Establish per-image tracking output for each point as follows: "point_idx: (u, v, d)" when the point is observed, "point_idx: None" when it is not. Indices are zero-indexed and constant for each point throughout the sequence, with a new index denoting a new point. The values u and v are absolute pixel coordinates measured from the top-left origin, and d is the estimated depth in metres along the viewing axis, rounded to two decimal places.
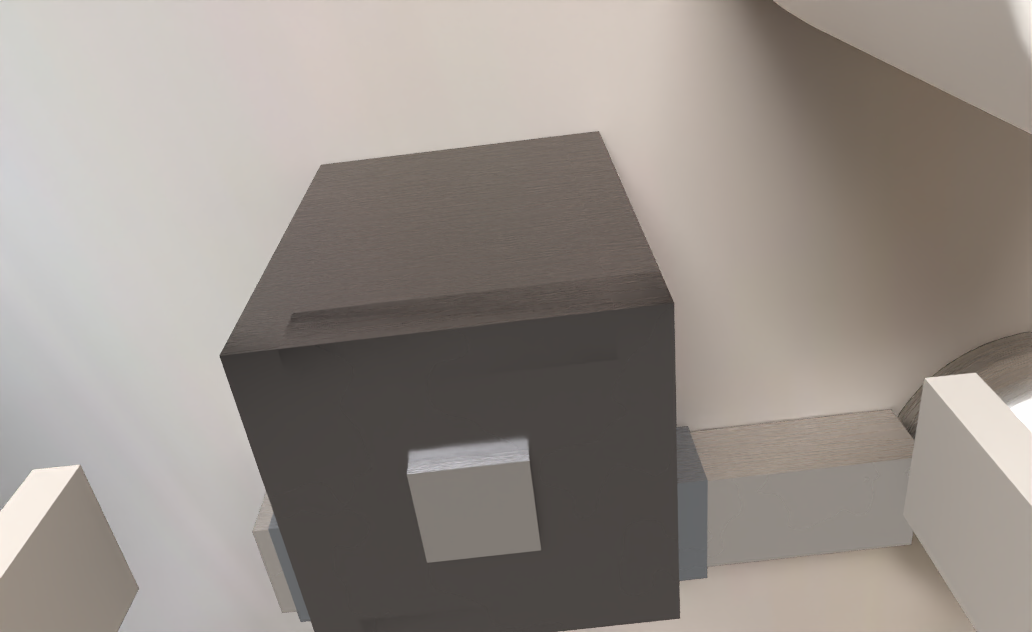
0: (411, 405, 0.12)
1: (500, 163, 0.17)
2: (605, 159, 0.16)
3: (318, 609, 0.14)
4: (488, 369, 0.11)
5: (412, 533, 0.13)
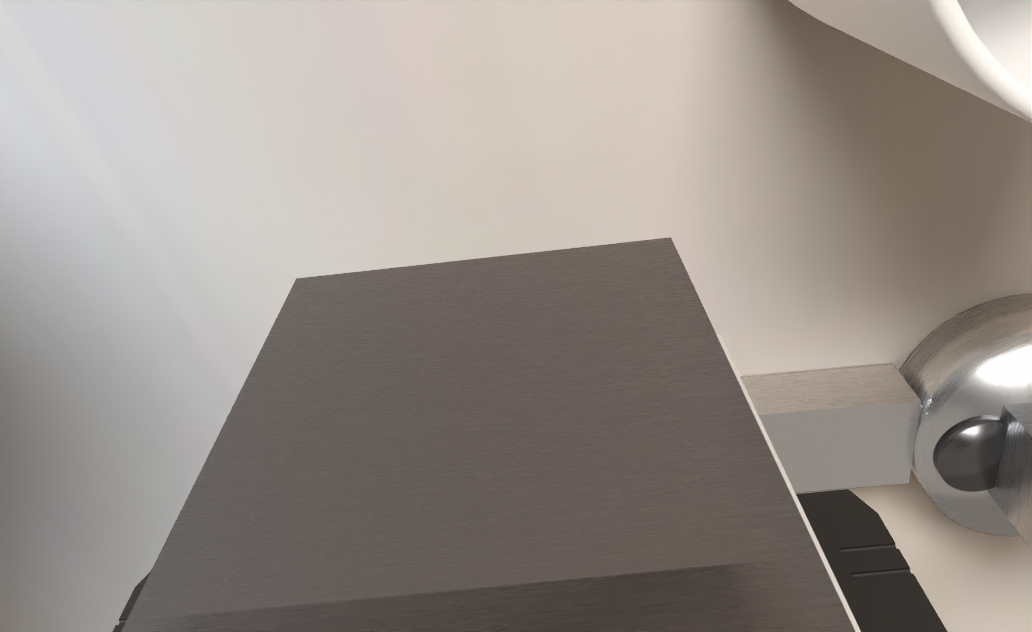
0: None
1: (539, 290, 0.12)
2: (687, 291, 0.12)
3: None
4: None
5: None
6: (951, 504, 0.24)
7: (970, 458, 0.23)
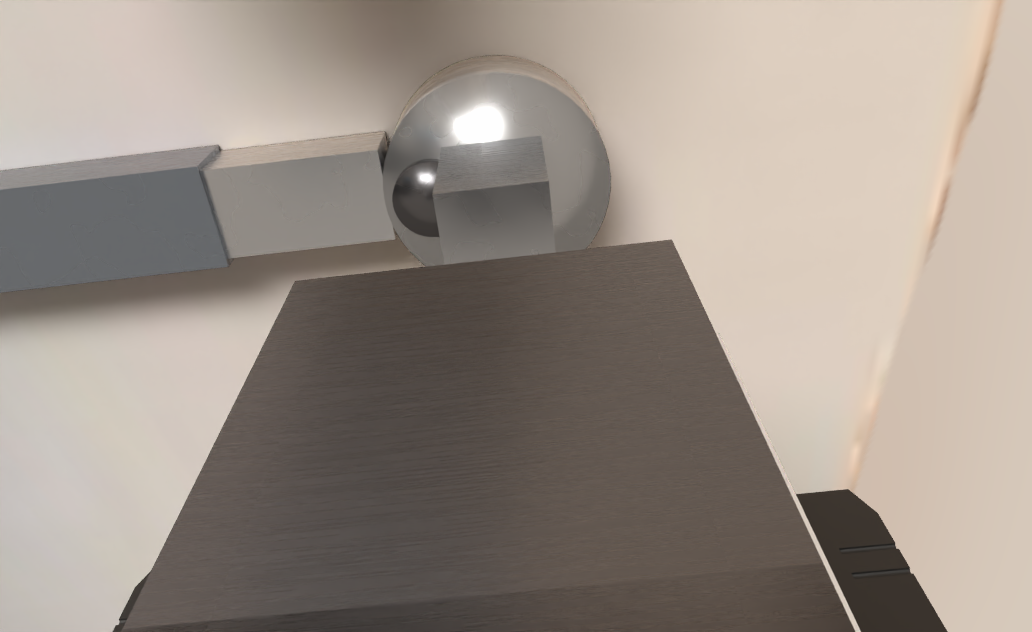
0: None
1: (540, 293, 0.12)
2: (689, 294, 0.11)
3: None
4: None
5: None
6: (429, 256, 0.26)
7: (420, 201, 0.25)
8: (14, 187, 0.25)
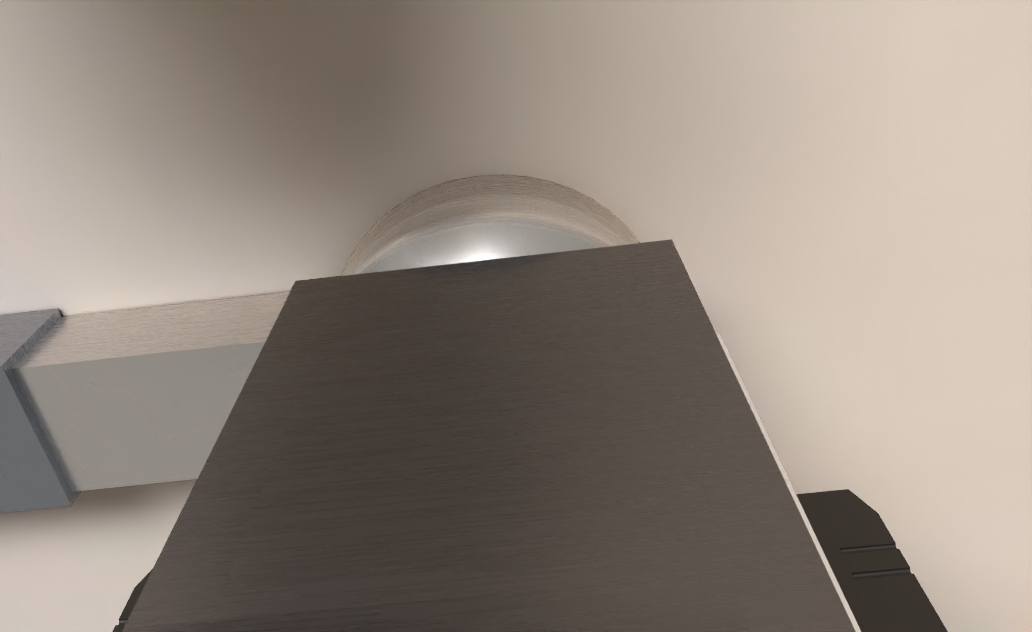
0: None
1: (540, 292, 0.12)
2: (689, 293, 0.12)
3: None
4: None
5: None
6: None
7: None
8: None
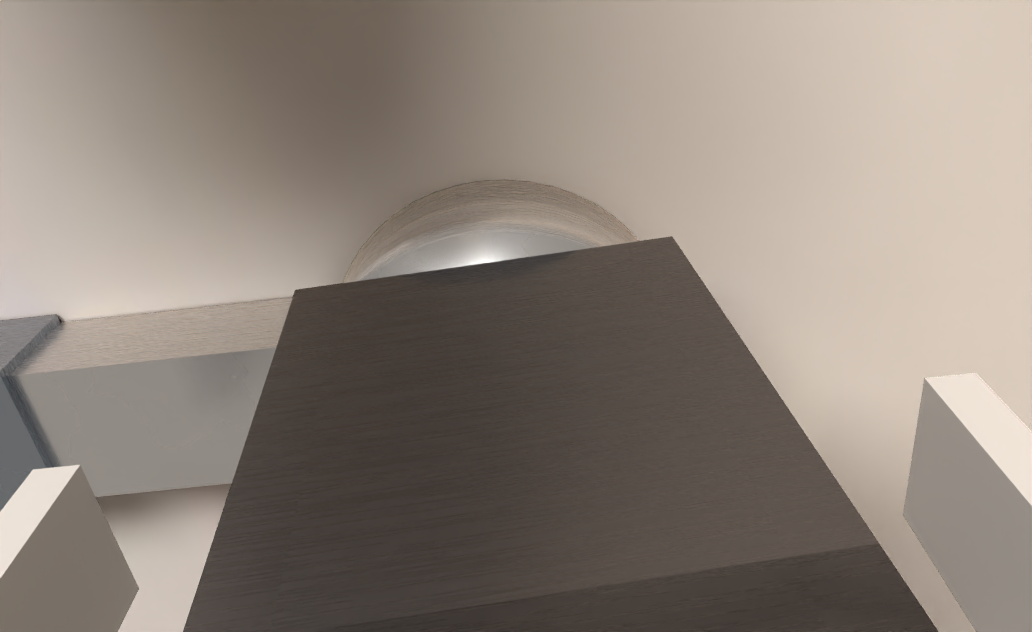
0: None
1: (550, 292, 0.12)
2: (699, 288, 0.12)
3: None
4: None
5: None
6: None
7: None
8: None
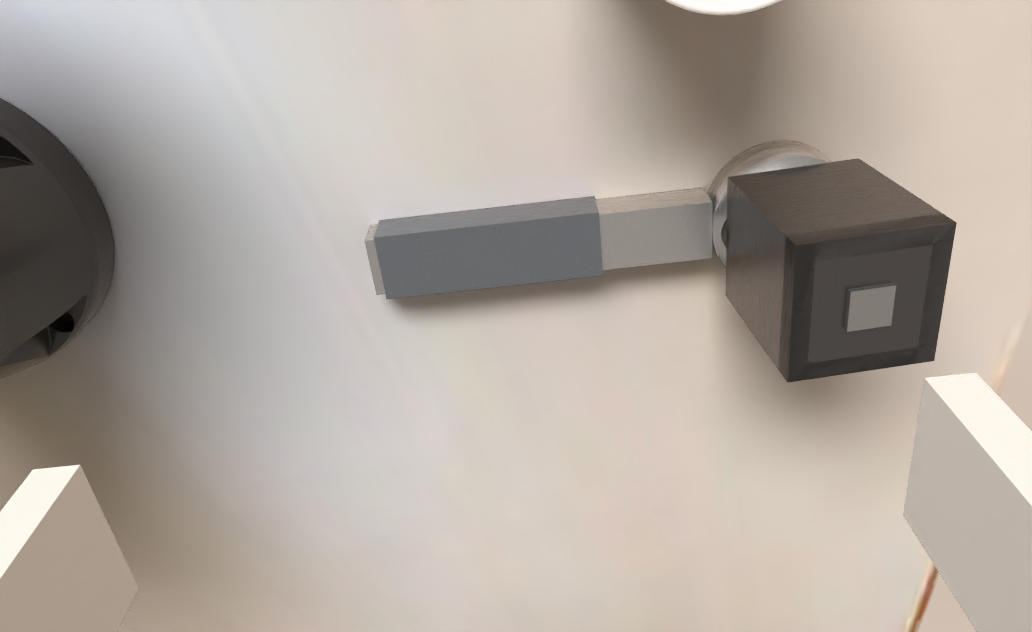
0: (856, 264, 0.31)
1: (824, 174, 0.36)
2: (875, 171, 0.36)
3: (793, 358, 0.33)
4: (887, 249, 0.31)
5: (840, 320, 0.32)
6: None
7: None
8: (480, 225, 0.39)
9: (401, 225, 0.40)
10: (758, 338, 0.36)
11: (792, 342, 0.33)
